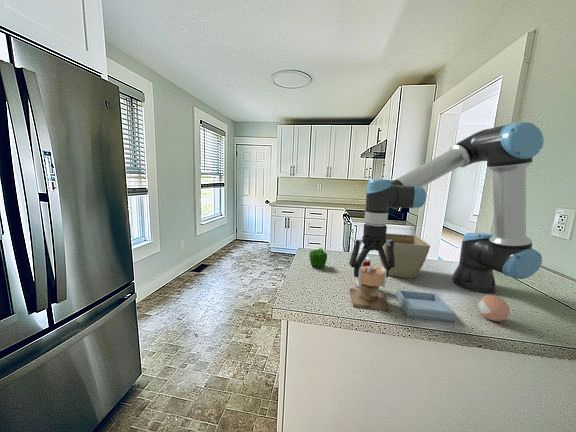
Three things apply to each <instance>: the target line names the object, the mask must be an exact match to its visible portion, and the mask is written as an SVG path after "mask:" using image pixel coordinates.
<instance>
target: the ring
mask: <svg viewBox="0 0 576 432" xmlns="http://www.w3.org/2000/svg"><path fill="white" fill-rule="evenodd" d="M368 268H373V269H375V270H374V273H370V272H367V269H368ZM360 269H361V281H360V283H362V284H365V285H368V286H379V287H382V286H381V285H382V284H384V278H385V272H384V271H383V270H382V269H381V268H379V267H376V266H371V265H370V266H362V267H360Z"/></svg>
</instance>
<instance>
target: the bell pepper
mask: <svg viewBox="0 0 576 432" xmlns="http://www.w3.org/2000/svg"><path fill="white" fill-rule="evenodd" d="M327 261H328V254H327V252H325V251H324V248H322V247H319V248H318V249H314V250H310V251H309V262H310V266H311V267H312V268H315V269H316V268H318V269H323V268H324V267H326V266H325V265H326V264H327Z"/></svg>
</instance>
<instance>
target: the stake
mask: <svg viewBox="0 0 576 432" xmlns="http://www.w3.org/2000/svg"><path fill="white" fill-rule="evenodd" d="M374 270H375V269H373V268H368V269H367V272H370V273H374ZM379 289H380V286H368V285H365V284H362V283H360V288H351V287H350V288H349V294H350V299H351V304H352V307H353V308H361V309H369V310H377V311H387V312H390V306H389V304H388V301H387V299H386V297H385V295H384V293H383V291H381V290H380V291H379Z"/></svg>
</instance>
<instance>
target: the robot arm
mask: <svg viewBox="0 0 576 432" xmlns="http://www.w3.org/2000/svg"><path fill="white" fill-rule="evenodd" d="M543 145H544V135H543V132H542V131H541V129H540V128H539V126H536V125H535V124H534V123H532V122H529V121H521V122H514V123H513V122H512V123H508V124H504V125H499V126H495V127H491V128H487V129H482V130H480V131H477V132H475V133H473V134H471V135H470V136H467V137H466V138H464V139H462V140H461V141H460V140H459V142H457V143H454V144H453V145H451V146H450V147H449V149H448V150H447V151H446V152H444V153H442V154H440V155H439V156H435V158H433V159H431V160H429V161H427V162H425V163H423V164H421V165H420V166H418V167H416V168H414V169H411V171H409V172H406V173H405V174H403V175H402V176H400V177H398V178H395V179H394V180H392V181H391V180H390V179H383V178H382V179H381V178H380V179H378V178H377V179H376V178H372V179H369V180H368V181H367V185H366V191H365V209H364V224H363V236H362V237H361V238H360V239H359V238H358V239H357V238H354V239H353V248H352V252H351V255H350V259H349V261H348V262H349V263H348V264H349V266H351V268H354V269H353V276H354V277H355V280H356V285H357V286H358V287H360V281H361V269H360V266H361V264H362V263H363V261H364V259H365V257H366V258H367V255H368V253H370V251H371V252H372V251H376V252H377V253H378V256H379V255H380V258H381V260H382V263H383V266H384V267H382V266H381V268H380V269H382V270H383V271H384V272H385V278H384V284H382V285H381V286H380V287H382V288H386V282H387V280H386V279H387V278H389V276H388V274H389V270H391V268H394V267H395V261H394V251H393V246H394V241H392V240H391V239H389V240H387V239H386V233H387V231H388V226H387V225H388V218H389V217H388V216H389V209H390V208H403V209H404V208H407V209H414V208H415V209H419V208H421V207H424V205H425V203H426V200H427V192H426V189H425V188H424V187H425V186H427V185H428V184H430V183H432V182H434V181H436V180H437V179H439V178H441V177H443V176H445V175H447V174H449V173H451V172H452V171H455V170H457V169H458V168H465V167H467V166H469V165H471V164H475V163H480V162H486V168H487V169H489V170H490V171H492V190H493V191H492V194H493V195H492V196H493V198H492V200H493V202H492V203H493V233H484V232H467V233H465V234H464V235H463V238H462V241H461V248H460V249H461V250H460V255H459V263H458V265H457V267H456V269H455V271H454V272H453V274H452V276H451V281H452V283H453V284H455V286H456V285H457V286H458V287H461V288H463V289H465V290H469V291H473V292H479V293H495V292H496V286H497V285H496V281H495V277H494V272H493V271H496V272H498V273H500V274H503V275H504V276H506V277H511V278H513V279H516V280H524V279H527V278H530V277H532V276H534V275H535V273H537V272H538V271H539V270H540V268H541V266H542V263H543V256H542V254H541V253H540V252H539V251H538V250H537V249H534V248H533V240H532V239H531V238H530V237H528V236H527V168H528V167H529V166H530V165H532V163H533V158H534V157H535V156H537V155H538V154H539V153H540V152H541V149H542V148H543ZM362 243H363V247H362V250H361V251H360V247H361V245H362ZM385 243H386V245H387V254H388V261H387V258H386V256H385V253H384V249H383V246H384V244H385ZM359 252H360V254H359ZM380 258H379V259H380ZM356 285H355V286H356ZM358 287H357V288H358Z"/></svg>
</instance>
